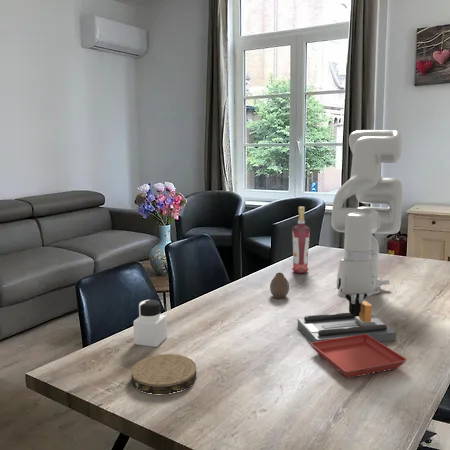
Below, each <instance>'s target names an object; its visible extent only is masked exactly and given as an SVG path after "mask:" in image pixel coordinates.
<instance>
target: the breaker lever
mask: <svg viewBox="0 0 450 450" xmlns="http://www.w3.org/2000/svg"><path fill="white" fill-rule="evenodd" d="M372 307H373V305H372V304H371V303H369V302H368V301H366V300H363V302H362V303H361V312H360V314H359V316H357V317H355V321H356V322H357V323H358V324H360V325H361V326H371V325H375V321H374V320H372V319H371V314H372V315H373V313H372V310H373V309H372Z"/></svg>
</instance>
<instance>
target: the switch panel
mask: <svg viewBox="0 0 450 450" xmlns="http://www.w3.org/2000/svg"><path fill="white" fill-rule="evenodd" d="M356 317H357V316H356ZM371 319H372V320H374V321H375V325H371V326H361V325H360V324H358V323H357V322H356V321H355V317H354V316H352V315H351V314H350V312H349V311H348V312H339V313H329V314H328V313H327V314H314V315H306V316H304V317H302V318H297V327H298V329H299V330H300V331H301V332H302V333H303V334H304V335H305V337H306V338H307V339H308V340H309V341H310V342H311V343H312V342H318V341H324V340H331V339H336V338H343V337H349V336H355V335H361V334H367V335H369V336H371V337H372V338H374V339H376V340H377V341H379V342H380V343H383V342H382V341H386V342H392V341H391V340H396V341H397V332H396V331H395V330H393V328H391V327H390V326H388V325H387V324H386V323H385V322H383V321H381V320H380V318H377V316H375V315H374V314H373V313H372V314H371Z"/></svg>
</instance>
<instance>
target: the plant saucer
mask: <svg viewBox="0 0 450 450" xmlns="http://www.w3.org/2000/svg"><path fill="white" fill-rule="evenodd" d="M310 345H311V346H312V348H313V349H314V350H315V352H316V353H317V354H318V355H319V356H320V357H321V356H322V357H321V358H323V359H324V360H325V361H326V360H327V361H326V362H328V363H329V364H330V365H331V366H332V365H333V366H332V367H334V369H336V370H337V369H338V370H337V371H338V372H340V373H341V374H342V375H343V374H344V375H343V376H344V377H346V378H347V377H352V378H354V377H353V376H357V377H359V376H358V375H362V376H364V375H363V374H367V375H369V374H368V373H372V374H374V373H373V372H378V371H383V372H385V371H384V370H388V371H390V370H389V369H393V370H396V369H397V368H399V367H400V366H402V365H403V364H405V362H407V358H405V357H404V355H403V356H402V355H401V354H400V353H398V352H396V351H394V350H392V349H391V348H390V347H388V346H386V345H385V344H384V343H383V342H379V341H377V340H376V339H374V338H372V337H371V336H369V335H367V334H361V335H355V336H349V337H343V338H336V339H331V340H324V341H318V342H311V343H310ZM395 368H396V369H395ZM378 373H379V372H378Z"/></svg>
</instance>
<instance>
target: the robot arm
mask: <svg viewBox="0 0 450 450" xmlns="http://www.w3.org/2000/svg"><path fill="white" fill-rule="evenodd" d="M348 144H349V147H350V151H351V153H352V159H351V168H350V169H351V170H350V178H349V179H348V180H347V181H345V183H343V184H342V185H341V186H340V187H339V189H338V190H337V192H336V193H335V195H334V198H333V201H332V202H333V203H332V209H331V216H330V217H331V218H330V219H331V224H330V225H331V227H332V229H333V230H334V231H335V232H338V233H344V239H343V241H344V242H343V244H344V246H343V258H340V261H339V265H338V271H337V279H336V289H337V290H338V291H337V296H338V297H339V298H342V299H346V300H347V301H348V304H349V305H348V313H349V312H350V314H351V315H352V316H354V317H356V316H359V314H360V312H361V303H362V302H363V301H365V299H366V298H367V297H371V296H373V295H377V294H380V293H381V292H382V285H383V286H384V285H385V286H388V285H390V280H389V279H383V278H379V277H378V273H379V248H380V246H379V242H378V240H377V239H376V237H375V236H374V235H373V234H381V235H382V234H383V235H395V234H398V233H399V231H400V229H401V226H402V212H403V211H402V210H403V209H402V208H403V185H402V182H401V180H400V179H398V178H396V177H382V164H395V163H397V162H398V161H399V160H400V158H401V154H402V149H403V136H402V134H401V132H400V131H399V130H397V129H393V130H392V129H362V130H361V129H360V130H355V131H353V132H351V133H350V134H349V137H348ZM352 196H355V197H356V200H357V201H358V202H359V203H362V204H367V205H368V204H369V205H385V206H387V207H383V206H382V207H378V206H359V207H343V205H344V202H346V201H347V199H349V198H350V197H352Z"/></svg>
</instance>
